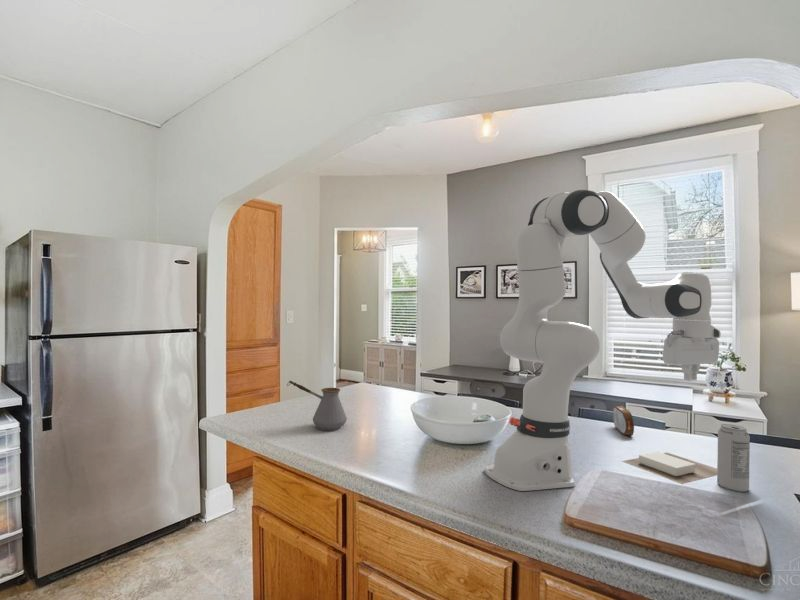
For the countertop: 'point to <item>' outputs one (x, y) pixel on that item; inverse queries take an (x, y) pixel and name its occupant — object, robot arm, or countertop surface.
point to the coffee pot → (327, 409)
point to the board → (700, 473)
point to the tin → (623, 420)
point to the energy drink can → (733, 458)
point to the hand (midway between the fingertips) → (690, 380)
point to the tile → (667, 463)
